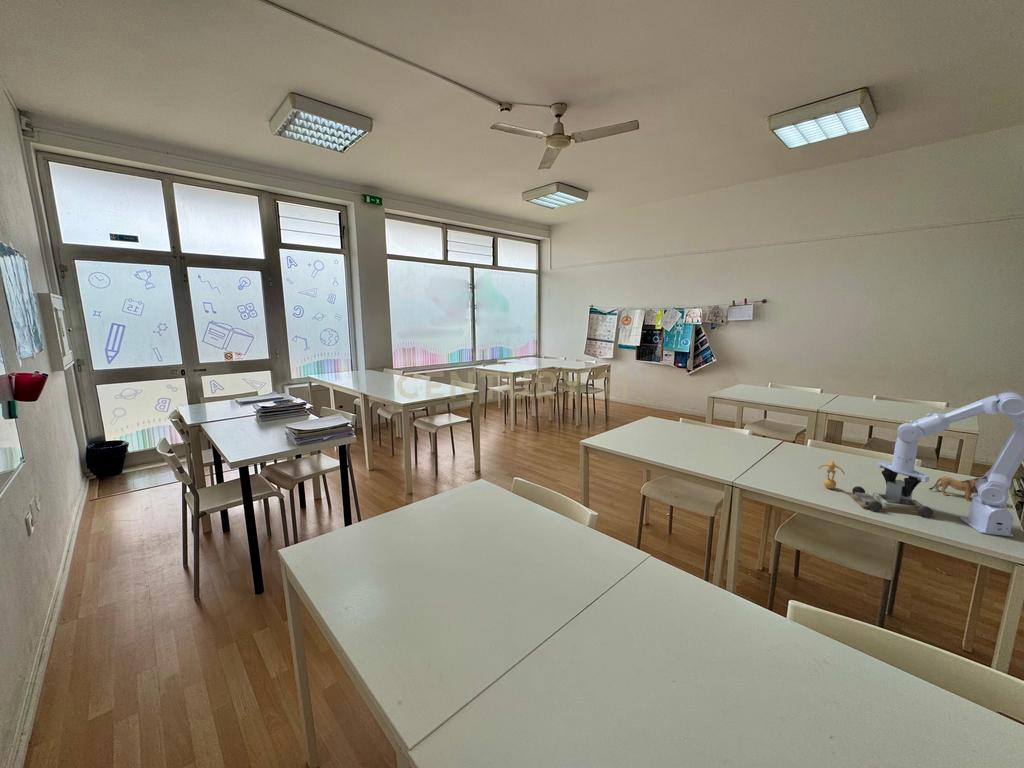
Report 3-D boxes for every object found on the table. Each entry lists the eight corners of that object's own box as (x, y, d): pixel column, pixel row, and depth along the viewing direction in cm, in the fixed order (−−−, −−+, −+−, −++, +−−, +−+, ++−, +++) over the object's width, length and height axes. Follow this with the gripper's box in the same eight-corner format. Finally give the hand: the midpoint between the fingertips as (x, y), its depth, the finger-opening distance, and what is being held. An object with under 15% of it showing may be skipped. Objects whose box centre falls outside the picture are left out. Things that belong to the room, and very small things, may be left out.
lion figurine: (984, 500, 152) (989, 477, 151) (985, 505, 149) (990, 481, 147) (928, 488, 163) (932, 466, 161) (928, 492, 159) (932, 470, 157)
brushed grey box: (911, 500, 147) (914, 484, 146) (899, 502, 145) (902, 486, 144) (896, 494, 151) (899, 479, 150) (884, 497, 150) (887, 481, 149)
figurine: (843, 489, 163) (847, 460, 161) (841, 494, 158) (845, 465, 156) (817, 483, 168) (820, 455, 166) (814, 488, 164) (818, 459, 162)
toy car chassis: (936, 518, 140) (938, 508, 139) (864, 510, 146) (866, 500, 146) (912, 500, 153) (914, 491, 152) (847, 494, 159) (849, 485, 158)
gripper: (938, 463, 140) (931, 500, 142) (888, 449, 153) (883, 483, 156) (923, 465, 138) (917, 503, 140) (875, 451, 151) (869, 486, 154)
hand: (898, 493), depth 148 cm, fingers closed on brushed grey box, 4 cm apart
